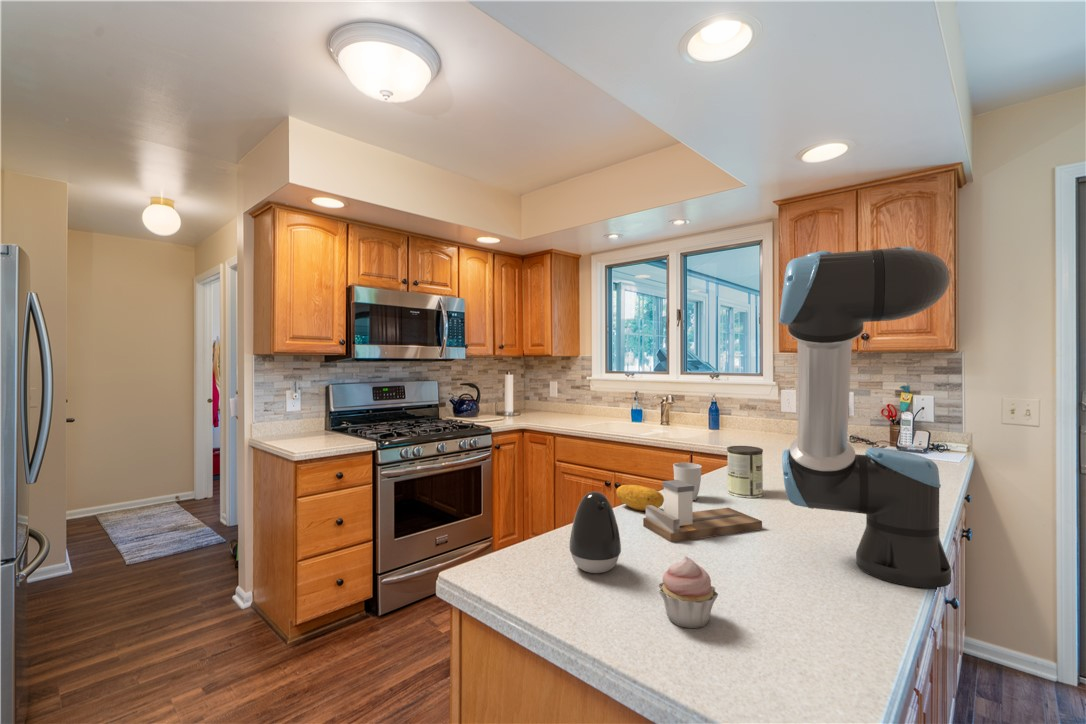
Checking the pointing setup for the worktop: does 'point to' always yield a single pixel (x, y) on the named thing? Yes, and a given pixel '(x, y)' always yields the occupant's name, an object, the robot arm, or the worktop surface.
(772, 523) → the worktop surface
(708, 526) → the board
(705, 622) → the cupcake
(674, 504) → the fader tab
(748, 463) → the coffee can
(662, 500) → the potato
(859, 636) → the worktop surface
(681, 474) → the cup
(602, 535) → the dark egg-shaped tumbler
